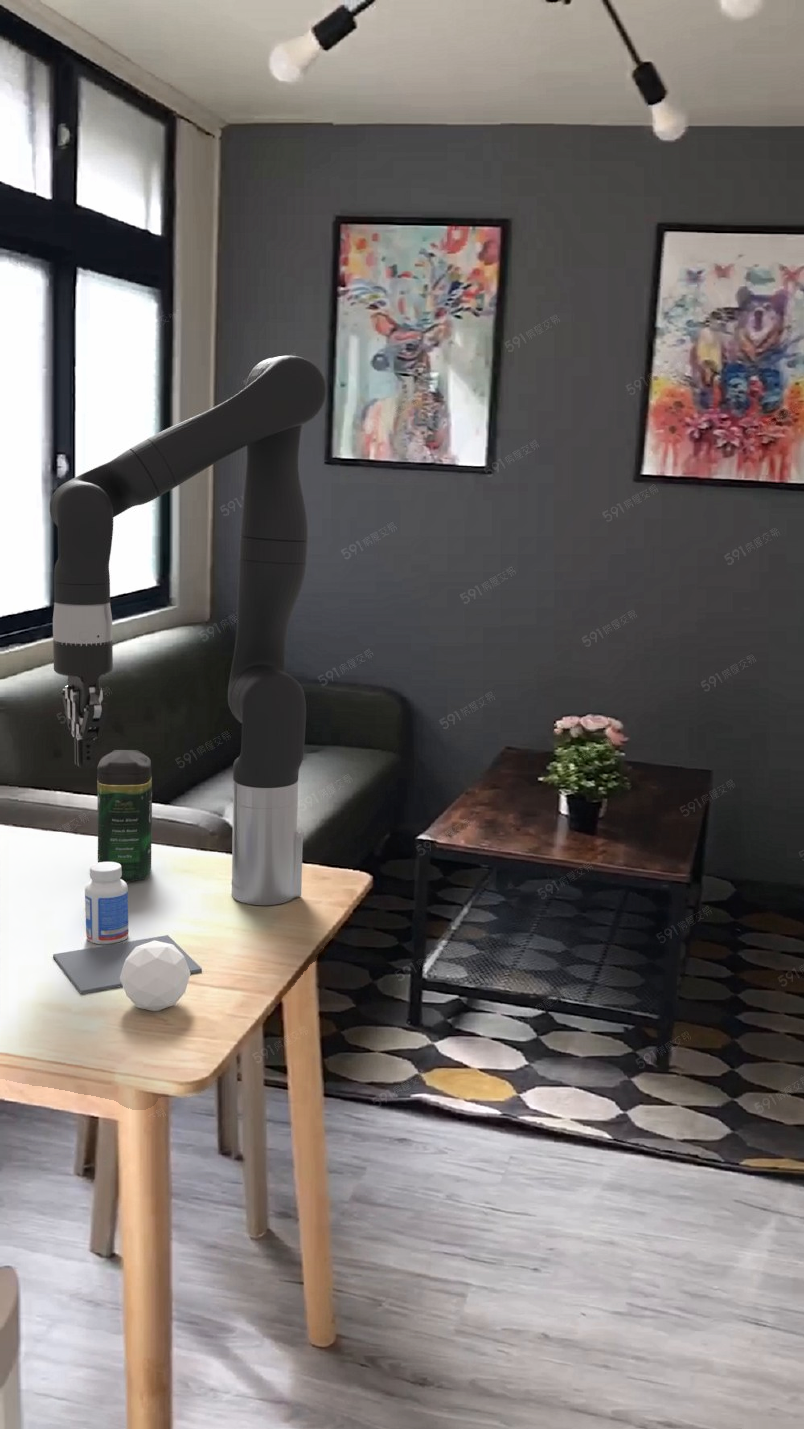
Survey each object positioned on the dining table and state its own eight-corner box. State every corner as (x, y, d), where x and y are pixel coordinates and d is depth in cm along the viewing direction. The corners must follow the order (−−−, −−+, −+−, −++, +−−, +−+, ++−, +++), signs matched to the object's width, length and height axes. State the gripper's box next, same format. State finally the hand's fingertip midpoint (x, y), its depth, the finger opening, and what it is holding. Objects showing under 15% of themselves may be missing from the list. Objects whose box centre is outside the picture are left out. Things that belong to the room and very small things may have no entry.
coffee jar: (150, 884, 185) (150, 761, 181) (95, 885, 183) (93, 761, 180) (153, 863, 194) (153, 745, 190) (101, 863, 193) (99, 745, 189)
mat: (167, 937, 165) (167, 935, 165) (201, 971, 155) (201, 968, 155) (53, 957, 157) (53, 954, 157) (81, 993, 147) (81, 990, 147)
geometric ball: (136, 1029, 145) (97, 971, 145) (190, 988, 150) (153, 932, 149) (157, 1021, 139) (117, 961, 139) (213, 979, 143) (174, 921, 143)
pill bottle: (136, 933, 166) (136, 863, 164) (114, 948, 161) (113, 875, 159) (100, 927, 168) (99, 857, 166) (77, 941, 163) (76, 869, 161)
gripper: (127, 643, 160) (128, 775, 164) (95, 628, 171) (97, 752, 175) (68, 645, 156) (71, 780, 160) (40, 630, 168) (43, 757, 171)
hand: (84, 765), depth 167 cm, fingers closed
